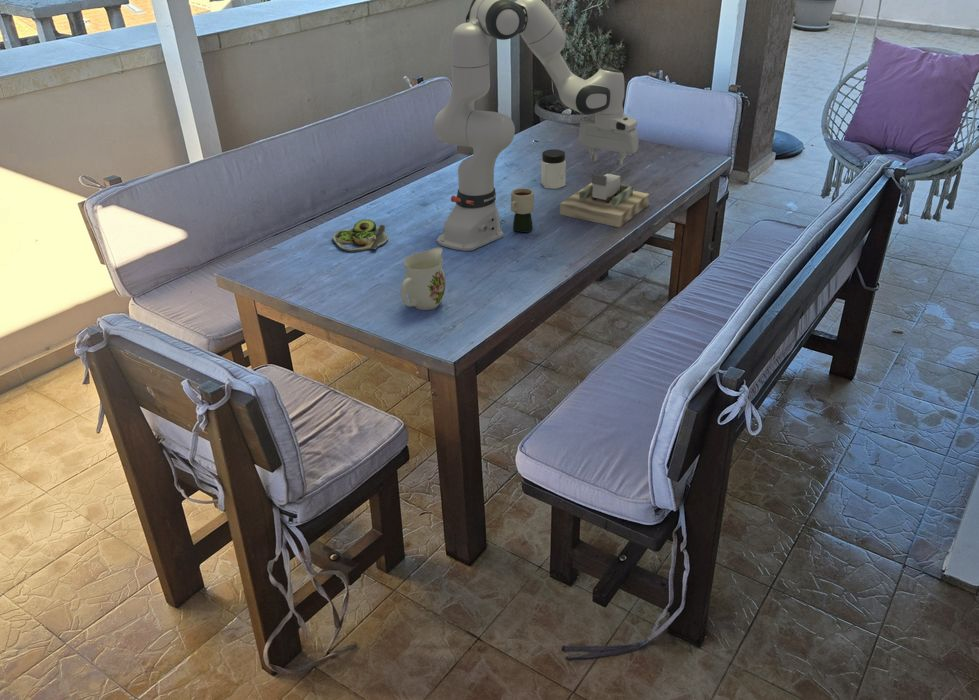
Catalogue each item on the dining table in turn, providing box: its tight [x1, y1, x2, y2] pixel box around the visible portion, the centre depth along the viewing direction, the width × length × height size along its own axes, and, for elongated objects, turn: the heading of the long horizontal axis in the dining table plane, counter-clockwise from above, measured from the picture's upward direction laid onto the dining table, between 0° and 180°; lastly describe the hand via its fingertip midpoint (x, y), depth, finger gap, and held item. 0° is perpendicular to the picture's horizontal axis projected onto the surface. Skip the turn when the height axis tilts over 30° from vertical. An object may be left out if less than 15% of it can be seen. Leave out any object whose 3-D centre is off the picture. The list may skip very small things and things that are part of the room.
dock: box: [559, 182, 650, 228], centre depth 283 cm, size 22×22×7 cm
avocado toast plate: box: [331, 218, 389, 253], centre depth 268 cm, size 19×18×5 cm
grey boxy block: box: [591, 173, 621, 203], centre depth 280 cm, size 11×6×10 cm, turn 146°
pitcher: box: [400, 247, 446, 311], centre depth 227 cm, size 11×18×14 cm, turn 147°
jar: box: [540, 148, 567, 190], centre depth 303 cm, size 9×8×12 cm
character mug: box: [510, 187, 535, 233], centre depth 269 cm, size 11×7×13 cm, turn 139°
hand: (606, 162), depth 276 cm, fingers open, 8 cm apart
